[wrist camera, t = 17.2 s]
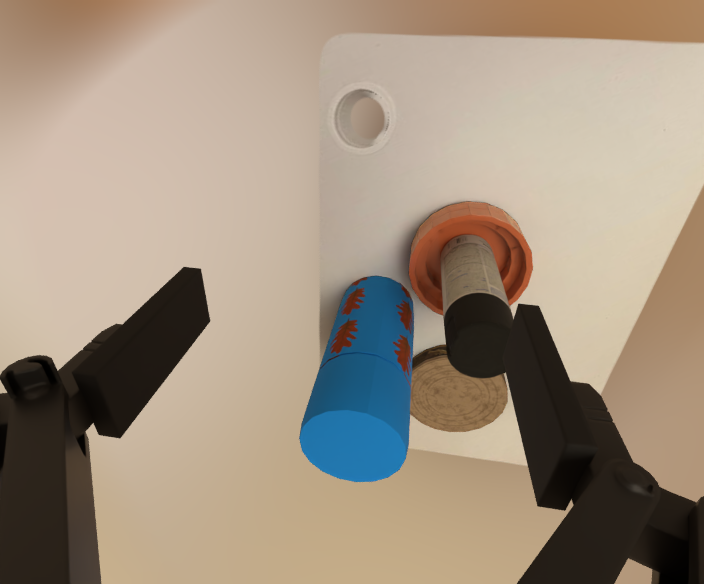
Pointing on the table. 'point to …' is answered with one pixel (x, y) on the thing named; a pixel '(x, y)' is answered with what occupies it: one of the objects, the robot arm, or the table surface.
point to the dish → (470, 221)
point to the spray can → (474, 308)
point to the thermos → (363, 385)
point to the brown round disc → (453, 394)
